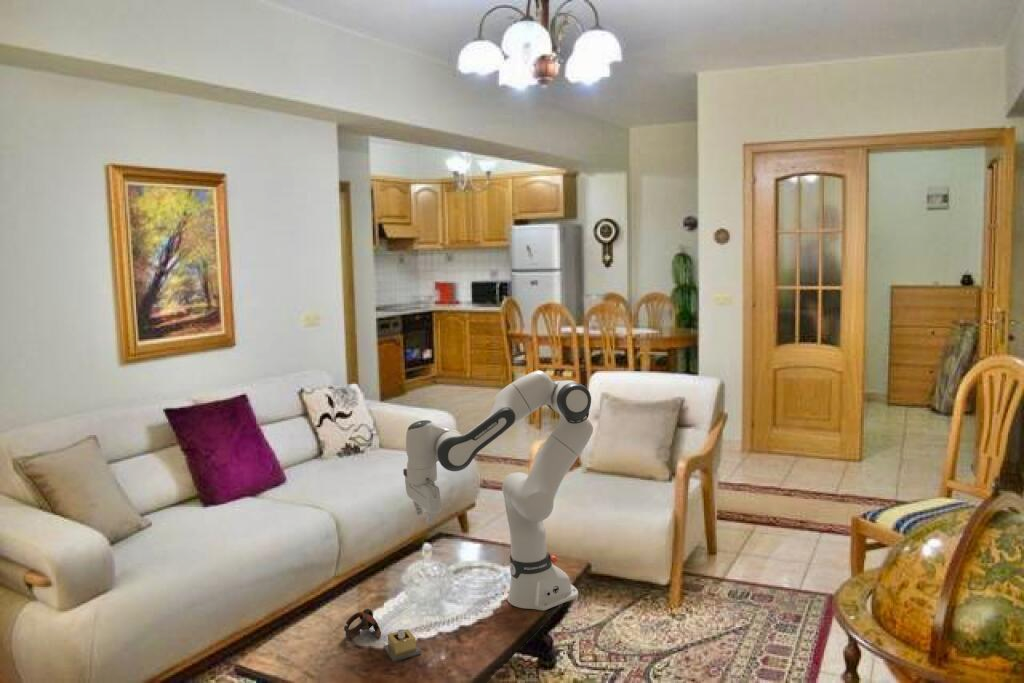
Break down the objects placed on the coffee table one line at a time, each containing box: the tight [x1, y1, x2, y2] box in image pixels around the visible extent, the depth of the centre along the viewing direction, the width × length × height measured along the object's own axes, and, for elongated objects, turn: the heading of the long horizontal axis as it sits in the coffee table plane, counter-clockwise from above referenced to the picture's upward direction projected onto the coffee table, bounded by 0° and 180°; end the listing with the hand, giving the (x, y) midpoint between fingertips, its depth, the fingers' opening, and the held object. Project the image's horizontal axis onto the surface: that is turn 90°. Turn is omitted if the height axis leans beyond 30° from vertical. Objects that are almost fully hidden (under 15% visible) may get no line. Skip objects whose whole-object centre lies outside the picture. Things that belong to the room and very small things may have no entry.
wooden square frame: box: [387, 628, 417, 656], centre depth 228 cm, size 6×6×4 cm
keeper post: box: [383, 628, 422, 663], centre depth 228 cm, size 8×8×6 cm
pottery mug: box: [343, 608, 382, 640], centre depth 238 cm, size 12×10×8 cm
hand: (424, 518), depth 249 cm, fingers open, 8 cm apart
